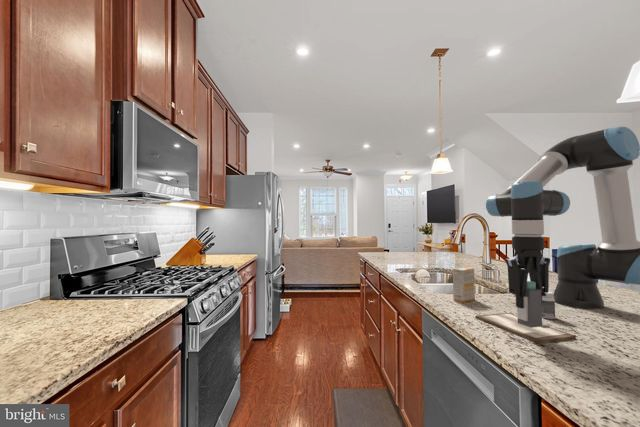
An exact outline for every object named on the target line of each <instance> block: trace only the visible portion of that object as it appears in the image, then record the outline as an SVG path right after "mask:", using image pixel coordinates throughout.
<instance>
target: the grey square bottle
mask: <svg viewBox="0 0 640 427" xmlns="http://www.w3.org/2000/svg"><path fill="white" fill-rule="evenodd" d="M520 292H521V291H520ZM525 297H528V321H524V320H521V319H518V323H519V324H522V325H525V326H527V327H530V328H533V327H542V323H543V318H542V301H541V290H539V289H536V282H533V281H530V280H527V285H526V293H525Z"/></svg>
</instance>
